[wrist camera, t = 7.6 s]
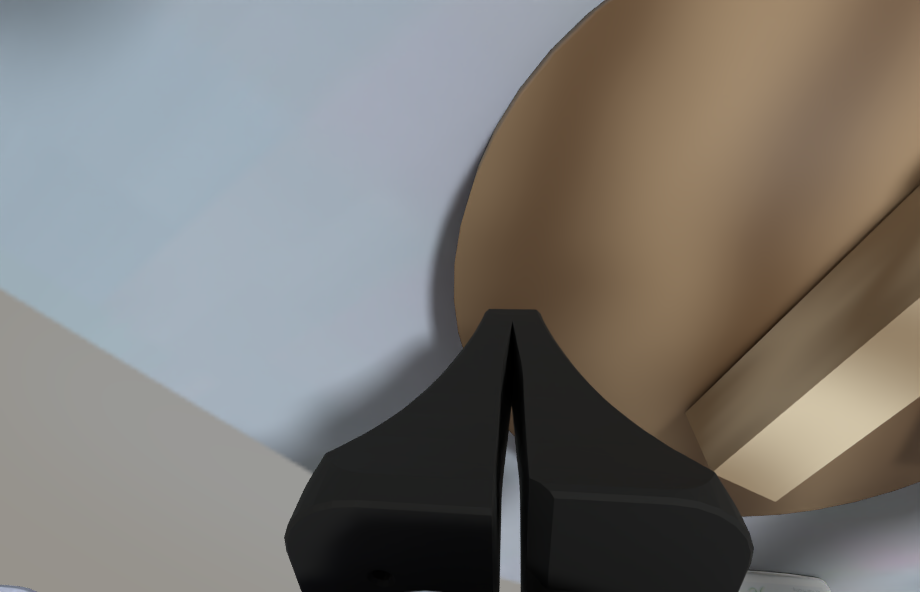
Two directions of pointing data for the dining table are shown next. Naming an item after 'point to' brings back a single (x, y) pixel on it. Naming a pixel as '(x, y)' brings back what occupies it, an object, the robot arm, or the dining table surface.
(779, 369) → the hinged leg
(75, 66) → the dining table surface
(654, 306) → the stool seat
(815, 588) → the syrup box
